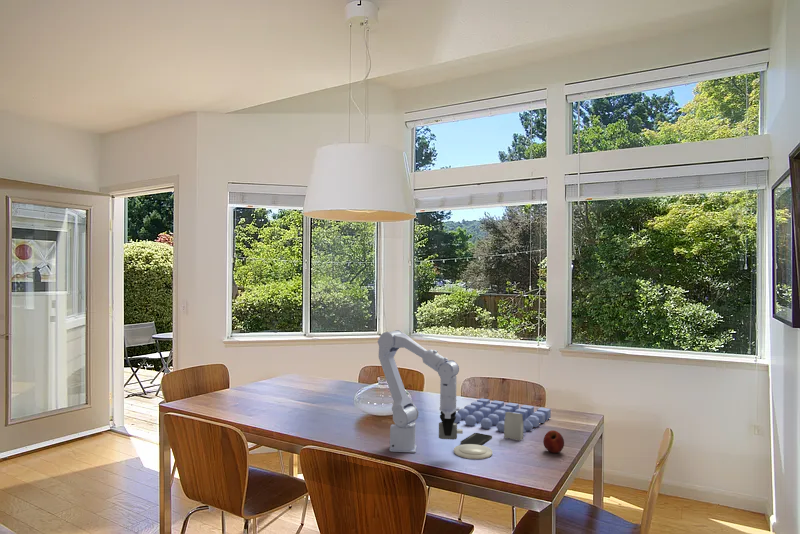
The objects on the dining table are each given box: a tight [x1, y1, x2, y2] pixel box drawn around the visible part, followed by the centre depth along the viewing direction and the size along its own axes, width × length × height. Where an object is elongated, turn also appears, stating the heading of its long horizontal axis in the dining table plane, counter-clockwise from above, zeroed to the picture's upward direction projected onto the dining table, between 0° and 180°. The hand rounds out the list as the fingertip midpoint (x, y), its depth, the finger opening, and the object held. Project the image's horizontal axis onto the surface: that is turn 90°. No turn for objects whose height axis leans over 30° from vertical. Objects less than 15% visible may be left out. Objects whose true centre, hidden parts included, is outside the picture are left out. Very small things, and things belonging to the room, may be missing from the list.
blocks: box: [454, 397, 552, 434], centre depth 232 cm, size 35×34×5 cm
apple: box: [542, 430, 565, 454], centre depth 191 cm, size 7×8×8 cm
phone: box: [460, 432, 493, 446], centre depth 203 cm, size 8×1×15 cm
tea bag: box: [503, 412, 524, 441], centre depth 207 cm, size 4×7×10 cm, turn 61°
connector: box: [438, 421, 464, 441], centre depth 183 cm, size 8×4×5 cm, turn 84°
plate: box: [453, 444, 493, 460], centre depth 189 cm, size 14×14×1 cm
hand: (447, 433), depth 183 cm, fingers closed on connector, 3 cm apart
